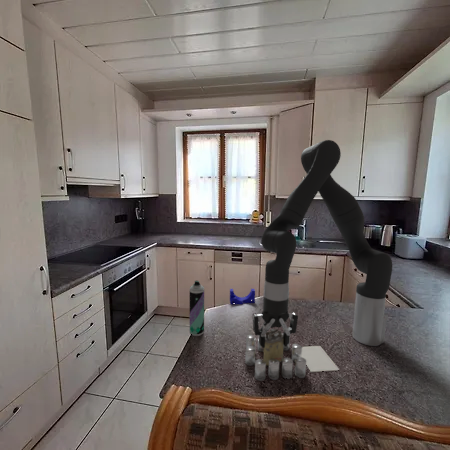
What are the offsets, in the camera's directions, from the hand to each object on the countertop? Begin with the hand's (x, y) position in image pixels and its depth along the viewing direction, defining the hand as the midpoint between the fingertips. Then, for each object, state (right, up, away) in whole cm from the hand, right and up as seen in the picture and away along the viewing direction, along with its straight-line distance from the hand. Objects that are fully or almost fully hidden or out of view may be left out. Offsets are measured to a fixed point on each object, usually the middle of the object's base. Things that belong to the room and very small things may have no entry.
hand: (273, 345), depth 79 cm
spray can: (-26, -3, +17) cm, 31 cm away
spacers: (0, -5, +1) cm, 5 cm away
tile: (+14, -5, +2) cm, 15 cm away
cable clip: (-7, 0, +44) cm, 45 cm away
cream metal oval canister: (0, -5, +1) cm, 6 cm away
